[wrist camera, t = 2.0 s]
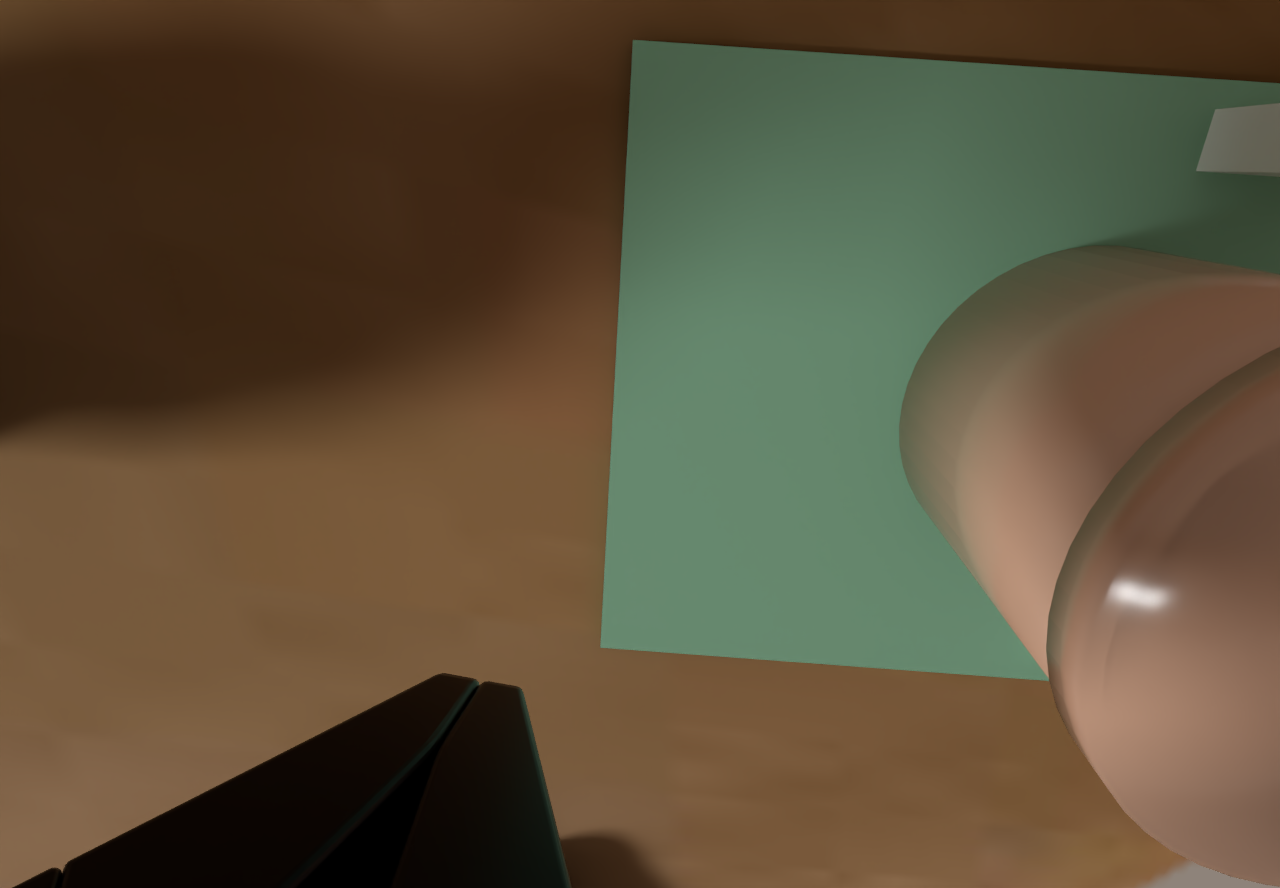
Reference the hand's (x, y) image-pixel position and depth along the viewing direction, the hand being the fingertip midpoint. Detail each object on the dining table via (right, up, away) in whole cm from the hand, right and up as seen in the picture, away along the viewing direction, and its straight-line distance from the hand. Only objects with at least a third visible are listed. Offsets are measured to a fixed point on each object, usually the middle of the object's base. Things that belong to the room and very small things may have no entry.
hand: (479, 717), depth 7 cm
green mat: (+13, +3, +11) cm, 18 cm away
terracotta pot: (+12, +3, +10) cm, 16 cm away
